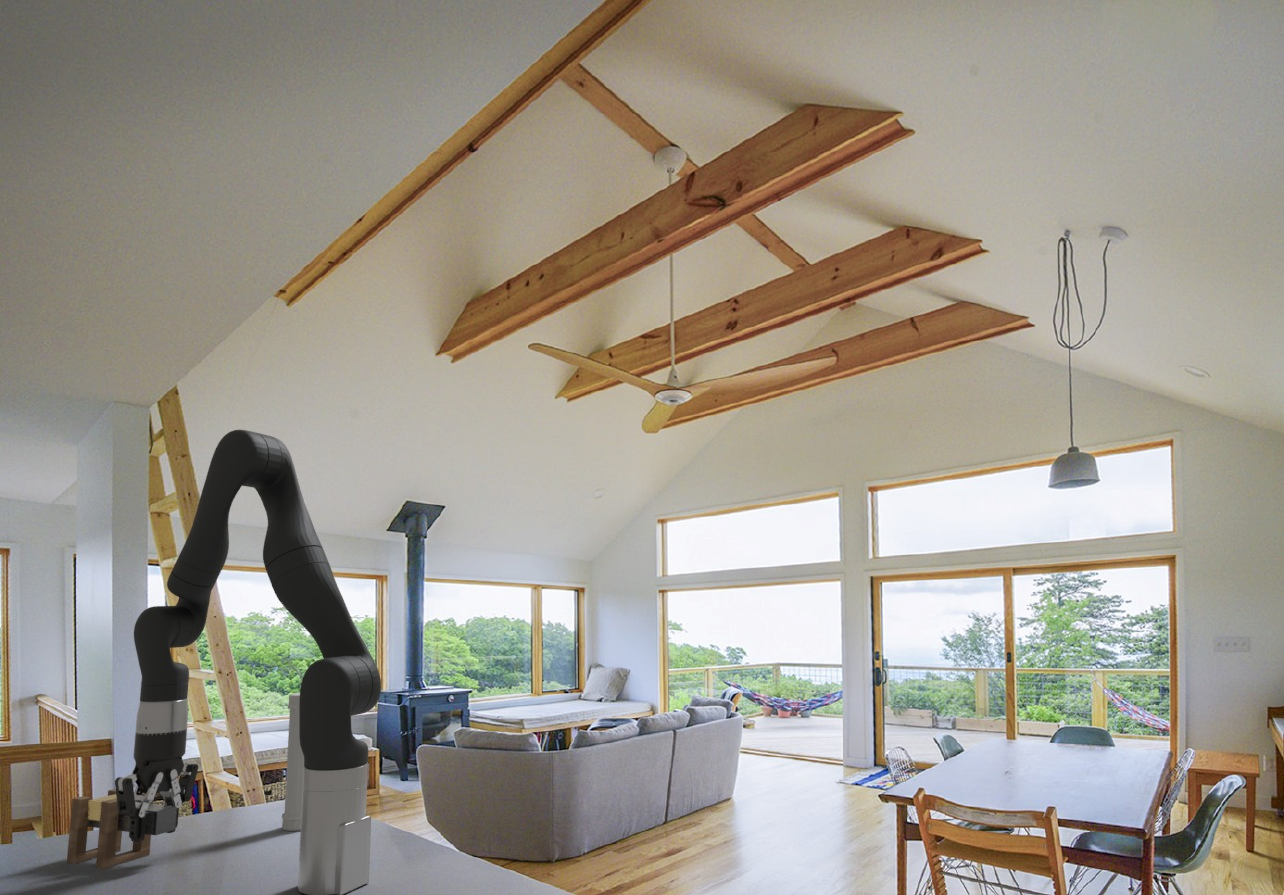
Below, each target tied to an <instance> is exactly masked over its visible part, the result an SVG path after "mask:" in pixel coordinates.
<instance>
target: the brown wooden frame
mask: <svg viewBox="0 0 1284 895" xmlns="http://www.w3.org/2000/svg"><path fill="white" fill-rule="evenodd" d="M114 794H116V788H114V789H109V790H107V796H110V795H114ZM145 795H146V794H144V793H142V796H145ZM89 800H91V797H90V796H78V797H73V798H72V801H71V810H70V820H69V822H70V823H69V831H68V832H69V833H68V845H67V854H66V863H67V862H69V863H68V864H71V863H74V864H73V865H76V863H77V864H80V863H84V862H86V861H90V860H89V859H91V860H93V859H92V858H94V859H96V862H95V864H96V865H95V868H97V869H98V868H99V869H108V868H111V867H114V866H117V865H118V866H119V865H121V864H125V863H128V862H131V861H134V860H136V859H140V858H143V857H146V856H149V855H150V854H151V853H150V852H151V851H150V850H151V840H152V839H151V838H152V835H148V834H145V838H144V841H141V842H133V841H132V850H128V851H125V852H122V853H119V852H121V848H122V837H123V835H122V834H123V831H118V830H117V829H118V817H119V812H118V805H117V800H107V801H103V802H102V803H101V814H100V826H99V828H98V840H97V847H96V848H91V849H89V850H87V841H88V831H89V827H88V820H89V819H88V810H89V807H88V803H89ZM150 804H154V799H153V801H152V802H151V803H150ZM117 852H118V854H116V853H117ZM95 857H97V858H95Z"/></svg>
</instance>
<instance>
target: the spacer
mask: <svg viewBox="0 0 1284 895" xmlns="http://www.w3.org/2000/svg"><path fill="white" fill-rule="evenodd" d="M107 800H117V796H116V794H114V795H110V796H108V795H106V796H101V797H97V798H92V799H90V800H89V803H88V807H89V810H88V819H89V820H97V821H100V814H101V803H102V802H103V801H107Z"/></svg>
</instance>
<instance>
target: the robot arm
mask: <svg viewBox="0 0 1284 895" xmlns="http://www.w3.org/2000/svg"><path fill="white" fill-rule="evenodd" d="M296 472H297V471H296V469H295V464H294V462H293V459H292V455H291V453H290V450H289V449H288V448H287V446H286V444H285V443H284V442H283V440H280V439H278V438H276V437H275V436H273V435H268V434H263V433H261V432H260V433H259V432H256V431H251V430H246V429H235V430H231V431H229V432H227V433H226V434H224V435H223V437H222V438H221V439H220V441H218V443H217V446H216V447H215V450H214V453H213V454H212V457H211V460H210V463H209V467H208V470H207V474H206V478H205V480H204V484H203V488H202V490H201V494H200V497H199V501H198V505H197V508H196V513H195V515H194V519H193V520H192V526H191V528H190V530H189V533H188V535H187V538H186V540H185V542H184V544H183V546H182V549H181V551H180V553H179V555H178V557H177V559H176V562H175V563H174V566H173V568H172V569H171V572H170V574H169V576H168V579H167V581H166V587H167V589H168V591H169V592H170V593H171V594H172V595H174V596H176V597H178V599H177V602H176V605H156V606H155V605H154V606H150V607H147V608H145V609H144V610H143V611H142V612H141V613H140V614H139V616H138V617H137V619H136V622H135V623H134V627H133V628H134V629H133V642H134V647H135V651H136V656H137V660H138V661H137V662H138V666H139V669H140V675H141V682H140V684H141V685H140V694H139V704H138V705H139V706H138V710H137V714H136V724H135V734H134V747H133V759H134V761H135V765H134V769H133V770H132V773H131V774H129V775H126V776H124V777H122V776H118V777H116V778H115V780H114V789H116V796H117V805H118V812H119V814H120V815H127V816H129V817H130V829H129V832H128V837H129V839H130V841H131V842H132V843H133V842H141V841H144V838H145V825H146V817H144V816H145V814H146V812H147V809H148V806H149V804H150V803H151V802H152V801H153V799H154V798H155V797H156V795H157V794H160V795H161V796H162V799H163V801H164V802H163V803H164V805H168V806H176V807H177V812H176V826H175V830H173V831H169V832H166V833H165V834H171V833H174V832H176V831H177V830H176V828H178V825H179V814H180V813H179V812H180V811H179V810H180V808H181V807H182V805H183V804H184V803H186V802H189V801H191V799H192V797H193V796H192V795H193V791H194V789H195V788H194V787H195V783H196V780H197V774H198V770H199V765H198V764H197V763H190V762H189V763H187V762H185V763H184V761H183V757H184V755H185V754H186V747H187V736H188V735H187V734H188V720H189V718H188V717H189V705H188V696H189V695H188V694H189V682H190V669H189V667H188V666H187V665H186V664H184V663H182V662H176V661H174V659H173V656H172V652H171V649H174V648H175V649H176V648H185V647H188V646H190V645H192V644H193V643H195V642H196V641H197V640H198V639H199V638H200V636H201V635H202V633H203V631H204V629H205V626H206V623H207V617H208V611H209V606H210V603H211V602H210V600H211V594H212V590H213V589H214V587H215V584H216V583H217V581H218V578H219V576H220V574H221V572H222V571H223V568H224V566H225V564H226V561H227V558H228V555H229V548H230V538H229V537H230V535H229V516H230V510H231V507H232V504H233V502H234V499H235V498H236V496H237V495H238V492H239V491H240V489H241V488H242V487H247V488H254V489H255V491H256V492H257V494H258V496H259V498H260V500H261V502H262V505H263V508H264V510H265V513H266V517H267V528H266V532H265V533H266V534H265V538H264V542H263V547H262V560H263V564H264V565H263V566H264V568H265V571H266V574H267V576H268V579H269V582H270V585H271V588H272V590H273V591H274V593H275V596H276V598H277V600H278V601H279V602H280V604H281V605H282V606H283V607H284V608H285V610H286V611H288V613H289V614H290V615H291V616H292V617H293V618H294V619H295V620H296V621H297V622H298V623H299V624H300V625H301V626H303V628H304V629H305V630H306V632H308V633H309V635H311V637H312V639H313V640H314V641H315V643H316V645H317V647H318V649H319V650H320V651H319V652H320V653H321V655H322V658H321V659H318V660H316V661H314V662H313V663H311V664H310V665H309V666H308V667H307V669H306V670H305V672H304V675H303V676H302V681H301V682H300V683H301V684H300V688H299V693H300V700H299V737H300V746H301V749H302V752H303V755H304V774H303V793H302V813H301V830H300V833H299V835H300V837H299V854H298V855H299V857H298V880H297V882H298V884H297V890H298V892H299V893H302V894H304V895H345V894H347V893H349V892H351V891H353V890H355V889H357V888H359V887H362V886H364V885H366V884H368V883H370V867H371V866H370V865H371V862H370V861H371V839H372V838H371V836H372V816H371V815H369V814H367V799H368V798H367V794H368V793H367V791H368V773H369V772H368V770H369V768H368V767H369V746H368V744H367V743H366V742H365V741H364V740H361V739H358V738H356V737H355V736H354V734H353V732H352V731H353V730H352V717H354V716H358V715H362V714H364V713H367V712H369V711H371V710H373V708H374V707H375V706H376V705H377V703H378V701H379V698H380V697H381V693H382V680H381V675H380V672H379V668H378V666H377V664H376V662H375V660H374V658H373V655H372V654H371V651H370V650H369V648H368V647H367V645H366V643H365V642H364V640H363V638H362V636H361V633H360V632H359V631H358V629H357V626H356V624H355V622H354V621H353V618H352V617H351V614H350V611H349V610H348V607H347V604H346V602H345V600H344V598H343V595H342V594H341V591H340V588H339V586H338V584H337V582H336V578H335V576H334V574H333V570H332V568H331V565H330V562H329V560H328V558H327V555H326V553H325V550H324V548H323V547H324V546H323V544H322V543H321V541H320V538H319V536H318V535H317V532H316V529H315V527H314V524H313V521H312V519H311V515H310V513H309V511H308V508H307V506H306V505H307V504H305V500H304V496H303V494H302V490H301V486H300V483H299V479H298V476H297V473H296ZM142 793H144V794H146V795H145V796H142ZM140 804H141V805H140ZM139 806H140V807H139Z"/></svg>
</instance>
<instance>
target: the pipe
mask: <svg viewBox="0 0 1284 895" xmlns="http://www.w3.org/2000/svg"><path fill="white" fill-rule="evenodd" d="M288 664H289V665H290V666H292V668H293V669H295V671H296V672H297V674H298V675H299V678H300V681H301V682H302V679H303V677H302V675H301V673H300V672H299V670H298V669H297V668H296V666H294V665H293V663H291V662H288ZM299 700H300V692H294V693H290V694H289V695H288V704H287V709H288V710H289V717H288V718H289V722H288V738H287V740H288V741H287V758H286V775H285V776H286V780H285V798H284V799H285V800H284V813H282V814H281V820H282V823H281V828H282V830H283V831H287V832H297V831H300V832H301V813H302V793H303V774H304V755H303V752H302V749H301V746H300V737H299Z"/></svg>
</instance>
